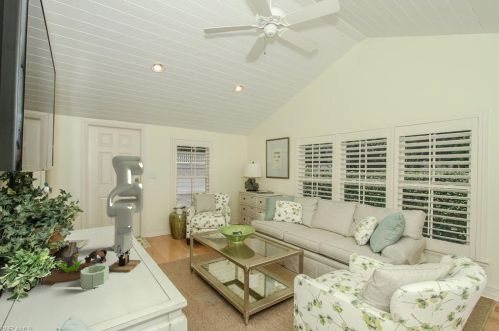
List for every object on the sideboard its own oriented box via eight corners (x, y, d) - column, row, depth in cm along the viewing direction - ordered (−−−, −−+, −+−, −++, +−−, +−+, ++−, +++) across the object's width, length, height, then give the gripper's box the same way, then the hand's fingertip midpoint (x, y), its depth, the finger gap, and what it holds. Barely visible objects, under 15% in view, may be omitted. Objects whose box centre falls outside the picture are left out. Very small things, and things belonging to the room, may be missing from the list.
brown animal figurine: (101, 268, 127) (92, 256, 126) (87, 274, 129) (78, 262, 127) (114, 254, 139) (106, 242, 137) (101, 260, 141) (93, 248, 139)
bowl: (90, 277, 116) (91, 264, 116) (112, 278, 116) (112, 264, 116) (75, 289, 105) (75, 274, 105) (99, 289, 105) (99, 274, 105)
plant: (81, 285, 110) (82, 260, 110) (33, 287, 107) (34, 262, 107) (101, 266, 129) (102, 245, 129) (61, 267, 127) (62, 246, 126)
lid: (118, 261, 133) (118, 250, 132) (140, 262, 133) (140, 251, 132) (105, 271, 121) (105, 259, 120) (129, 272, 121) (129, 259, 120)
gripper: (125, 225, 135) (124, 258, 135) (108, 233, 118) (107, 271, 118) (138, 225, 135) (138, 258, 135) (123, 234, 118) (122, 271, 118)
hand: (123, 263), depth 127 cm, fingers closed on lid, 3 cm apart
